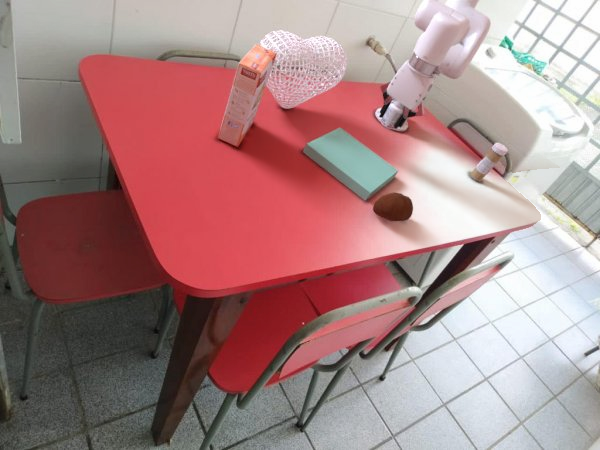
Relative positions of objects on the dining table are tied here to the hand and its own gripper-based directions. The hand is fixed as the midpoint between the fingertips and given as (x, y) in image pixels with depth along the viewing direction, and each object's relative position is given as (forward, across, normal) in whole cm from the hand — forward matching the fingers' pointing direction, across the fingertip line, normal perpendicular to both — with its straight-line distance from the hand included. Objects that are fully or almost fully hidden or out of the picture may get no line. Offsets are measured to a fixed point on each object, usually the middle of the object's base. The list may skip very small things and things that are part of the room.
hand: (389, 121), depth 119 cm
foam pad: (+11, 0, +15) cm, 18 cm away
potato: (+10, -18, +24) cm, 32 cm away
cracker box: (+10, +26, +35) cm, 45 cm away
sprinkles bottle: (+12, -29, -27) cm, 41 cm away
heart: (+11, +28, +11) cm, 32 cm away
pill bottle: (+1, 0, 0) cm, 1 cm away
